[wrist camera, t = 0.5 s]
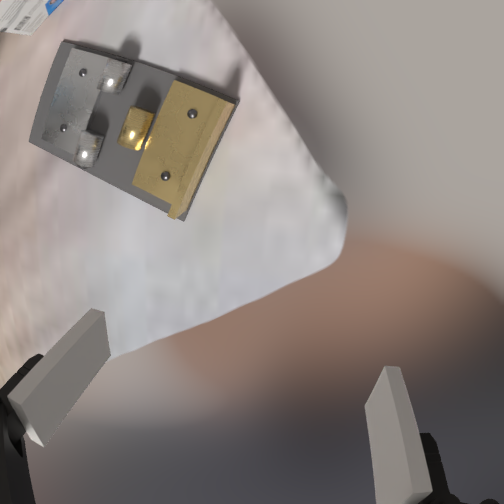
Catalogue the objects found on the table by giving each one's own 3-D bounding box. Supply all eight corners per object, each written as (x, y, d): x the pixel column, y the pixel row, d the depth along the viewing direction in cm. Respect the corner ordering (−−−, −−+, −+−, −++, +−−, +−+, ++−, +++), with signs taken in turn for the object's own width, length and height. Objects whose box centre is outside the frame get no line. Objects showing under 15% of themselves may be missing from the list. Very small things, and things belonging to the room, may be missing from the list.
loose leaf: (113, 172, 33) (94, 178, 30) (153, 72, 29) (135, 66, 25) (187, 209, 34) (174, 219, 30) (235, 105, 29) (227, 101, 26)
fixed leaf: (44, 141, 33) (29, 144, 30) (77, 45, 28) (63, 41, 25) (98, 168, 33) (84, 172, 31) (139, 62, 28) (126, 58, 26)
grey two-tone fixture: (30, 141, 34) (28, 141, 33) (63, 41, 28) (61, 41, 28) (184, 220, 35) (183, 221, 34) (239, 101, 29) (239, 101, 29)
